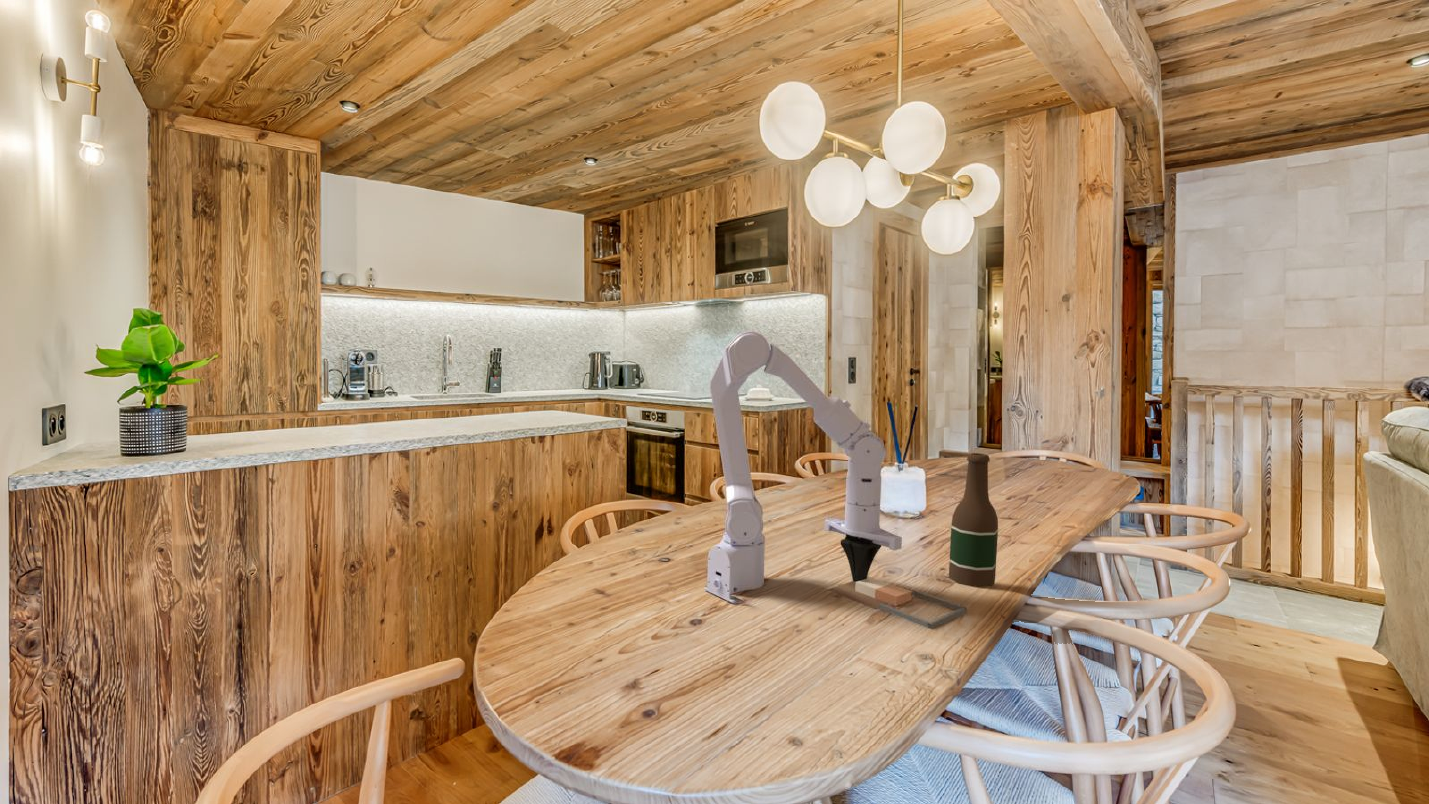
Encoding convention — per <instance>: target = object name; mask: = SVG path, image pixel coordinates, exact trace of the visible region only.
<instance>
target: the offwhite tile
mask: <svg viewBox="0 0 1429 804" xmlns="http://www.w3.org/2000/svg"><path fill="white" fill-rule="evenodd" d="M869 577H870V578H867V579H864V580H861V581H858V582H856V585H855V591H857V592H860V593H862V594H865V595H868V596H870V597H873V598H875V589H878V588H881V587H883V586H886V585H889V584H890V583H888V582H886V581H882V580H880V579H877V578H874V577H871V576H869Z"/></svg>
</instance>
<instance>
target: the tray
mask: <svg viewBox="0 0 1429 804" xmlns="http://www.w3.org/2000/svg"><path fill="white" fill-rule="evenodd" d="M913 592H914V595H912V596H911V599H914V598H916V597H918V598H921V599H924V600H926V601H930V602H931V603H935V604H938V605H940V606H943V607H946V608H949V609H952V610H954V611H951V612H948V613H946V614H944V615H942V616H939V617H937V618H935V619H933V620H930V621H929V620H926V619H924V618H921V617H918V616H915V615H912V614H910V613H907V612H905V611H901V610H900V609H896V608H895V607H893V606H894V605H892V604H888V605H884V604H879V608H878V609H879V610H881V611H884V612H886V613H888V614H892V615H894V616H896V617H899V618H901V619H904V620H907V621H909V622H912V623H913V624H916V625H919V626H922V627H925V628H928V629H933V628H936V627H938V626H940V625H942V624H945V623H947V622H949V621H951V620H954V619H955V618H957V617H960V616H962V615H964V614H966V613H967V612H968V608H967V607H966V606H963V605H960V604H958V603H955V602H951V601H949V600H945V599H943V598H940V597H937V596H934V595H930V594H928V593H924V592H922V591H920V590H914V591H913Z"/></svg>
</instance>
